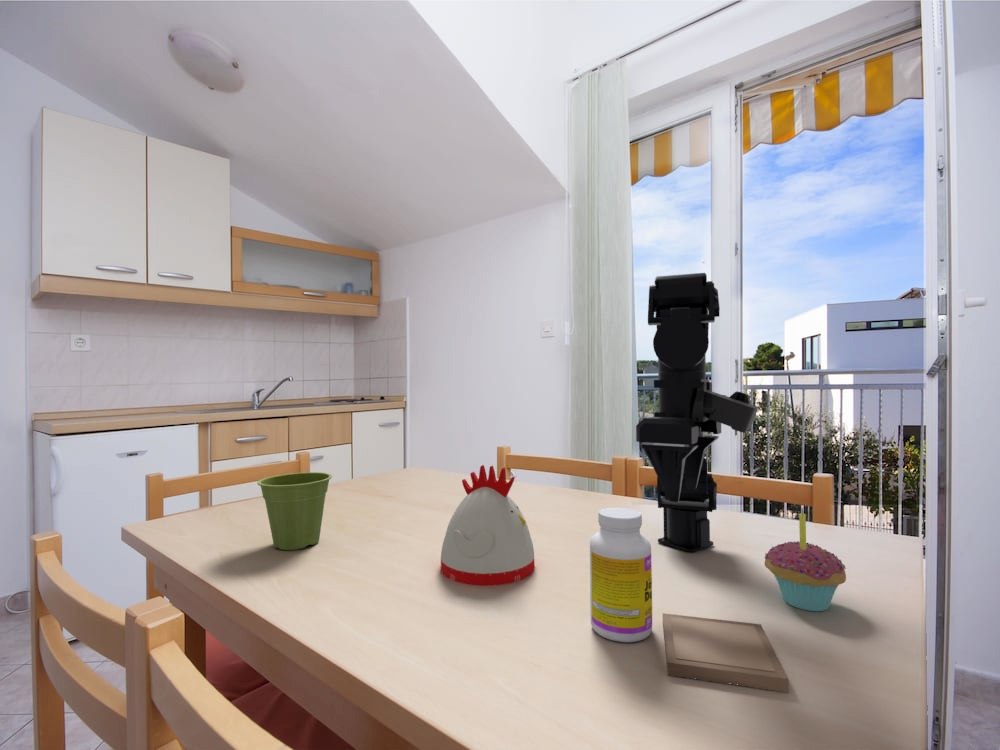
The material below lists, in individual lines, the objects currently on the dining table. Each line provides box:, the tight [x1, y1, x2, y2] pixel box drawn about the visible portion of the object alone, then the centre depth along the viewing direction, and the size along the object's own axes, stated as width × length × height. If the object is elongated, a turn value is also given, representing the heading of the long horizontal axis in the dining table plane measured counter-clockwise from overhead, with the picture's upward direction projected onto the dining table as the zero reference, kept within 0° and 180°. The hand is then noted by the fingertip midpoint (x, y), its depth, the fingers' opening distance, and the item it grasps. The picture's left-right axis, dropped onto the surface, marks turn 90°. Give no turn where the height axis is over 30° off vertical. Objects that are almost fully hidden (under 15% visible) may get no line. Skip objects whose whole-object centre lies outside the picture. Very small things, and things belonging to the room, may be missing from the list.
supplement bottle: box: [589, 506, 653, 643], centre depth 55 cm, size 7×7×13 cm
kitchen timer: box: [440, 464, 535, 587], centre depth 74 cm, size 14×14×15 cm
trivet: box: [662, 613, 789, 693], centre depth 49 cm, size 10×10×1 cm
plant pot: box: [256, 471, 333, 551], centre depth 85 cm, size 12×12×11 cm
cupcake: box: [764, 507, 847, 612], centre depth 61 cm, size 9×8×12 cm
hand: (683, 494), depth 63 cm, fingers open, 9 cm apart
